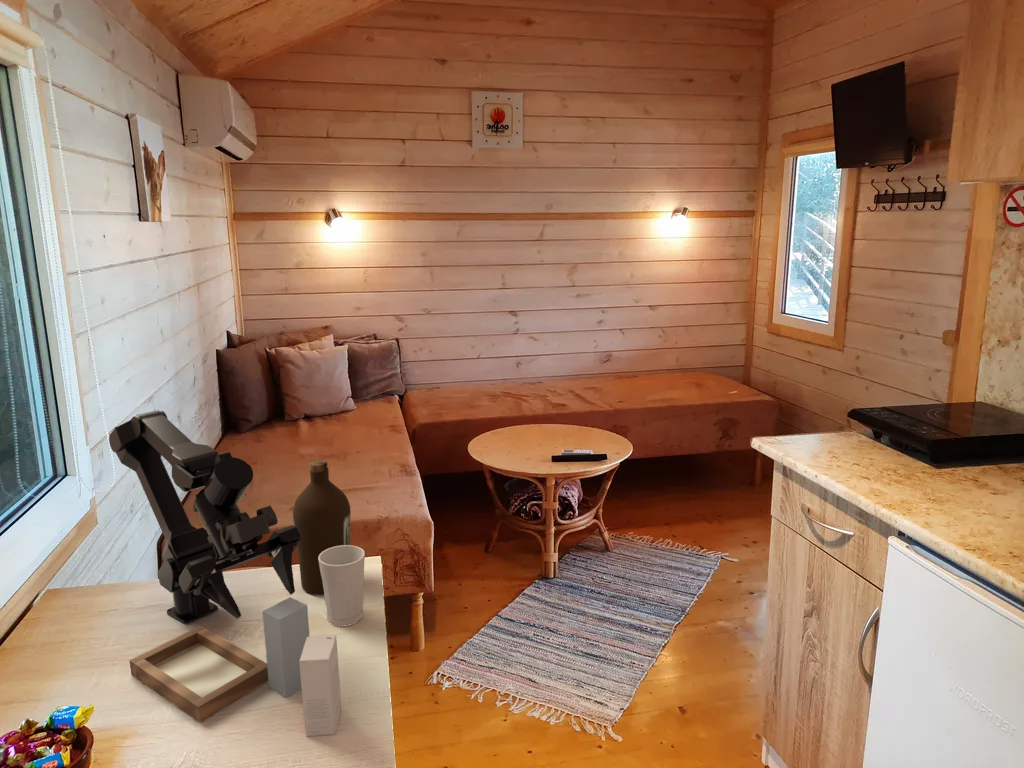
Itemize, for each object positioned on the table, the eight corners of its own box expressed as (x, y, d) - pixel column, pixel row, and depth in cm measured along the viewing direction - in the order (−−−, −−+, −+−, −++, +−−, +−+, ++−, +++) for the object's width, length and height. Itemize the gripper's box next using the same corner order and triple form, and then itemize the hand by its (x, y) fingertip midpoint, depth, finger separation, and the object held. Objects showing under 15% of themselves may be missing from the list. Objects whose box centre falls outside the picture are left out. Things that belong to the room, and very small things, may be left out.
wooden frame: (131, 674, 113) (129, 660, 113) (201, 638, 123) (200, 625, 122) (199, 722, 102) (198, 707, 102) (271, 679, 112) (270, 665, 111)
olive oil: (297, 600, 135) (287, 474, 129) (299, 574, 145) (290, 456, 139) (355, 593, 137) (348, 469, 132) (353, 567, 147) (346, 451, 142)
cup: (357, 631, 125) (353, 567, 122) (314, 626, 126) (310, 563, 124) (374, 607, 133) (371, 547, 130) (334, 602, 134) (330, 543, 131)
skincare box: (312, 708, 105) (306, 635, 103) (341, 707, 106) (337, 633, 103) (304, 737, 99) (298, 660, 97) (335, 736, 100) (330, 659, 97)
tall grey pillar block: (269, 688, 110) (262, 611, 107) (296, 671, 114) (290, 597, 111) (285, 698, 108) (279, 619, 105) (312, 681, 112) (307, 605, 109)
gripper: (179, 513, 104) (224, 608, 100) (292, 478, 118) (337, 560, 113) (160, 548, 111) (203, 638, 106) (269, 511, 125) (311, 590, 120)
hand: (266, 604), depth 111 cm, fingers open, 9 cm apart
